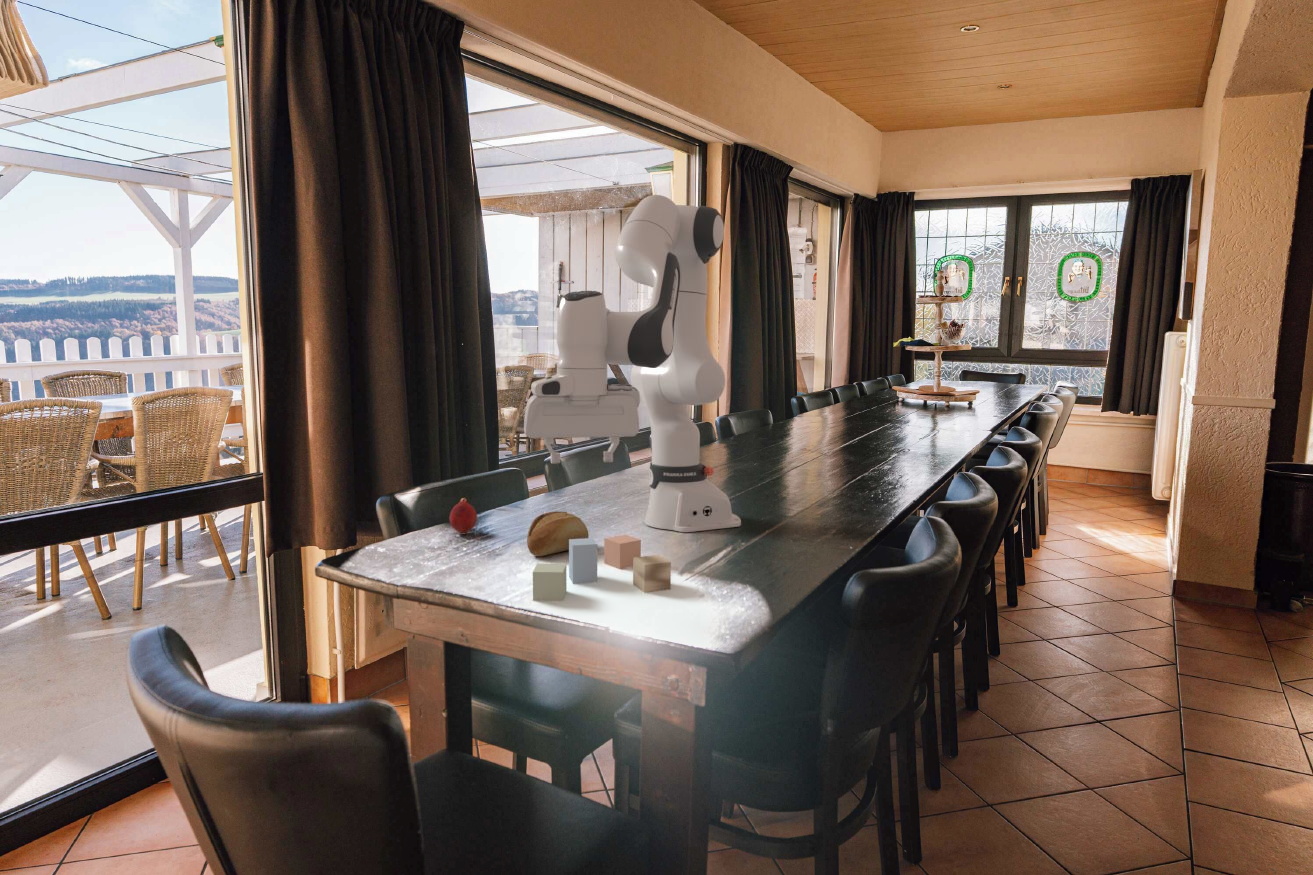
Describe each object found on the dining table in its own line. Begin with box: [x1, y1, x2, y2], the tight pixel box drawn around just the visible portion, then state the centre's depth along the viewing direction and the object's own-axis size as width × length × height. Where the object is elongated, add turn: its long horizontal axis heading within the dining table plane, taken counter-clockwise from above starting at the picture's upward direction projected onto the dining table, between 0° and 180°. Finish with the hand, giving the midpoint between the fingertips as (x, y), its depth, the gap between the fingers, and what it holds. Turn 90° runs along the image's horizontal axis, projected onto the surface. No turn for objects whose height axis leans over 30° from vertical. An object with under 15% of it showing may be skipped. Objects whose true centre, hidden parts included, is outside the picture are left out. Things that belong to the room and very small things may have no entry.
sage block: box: [532, 563, 567, 602], centre depth 140 cm, size 5×5×5 cm
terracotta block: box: [603, 534, 642, 570], centre depth 159 cm, size 5×5×5 cm
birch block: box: [632, 554, 672, 594], centre depth 145 cm, size 5×5×5 cm
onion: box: [448, 497, 478, 534], centre depth 181 cm, size 6×6×8 cm
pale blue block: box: [568, 537, 598, 585], centre depth 149 cm, size 4×4×7 cm
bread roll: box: [526, 510, 590, 557], centre depth 168 cm, size 10×15×8 cm, turn 144°
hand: (581, 462), depth 147 cm, fingers open, 8 cm apart
